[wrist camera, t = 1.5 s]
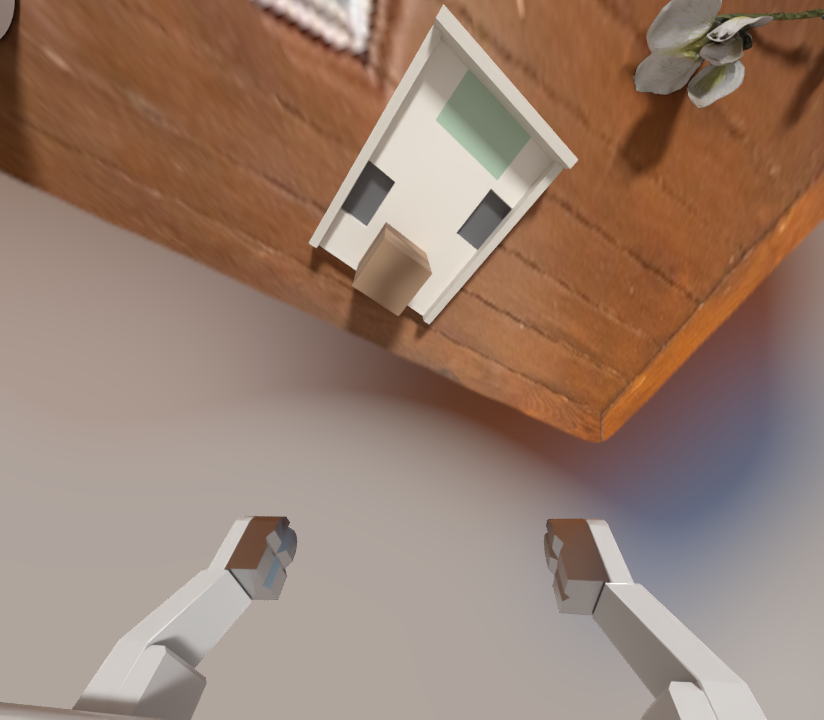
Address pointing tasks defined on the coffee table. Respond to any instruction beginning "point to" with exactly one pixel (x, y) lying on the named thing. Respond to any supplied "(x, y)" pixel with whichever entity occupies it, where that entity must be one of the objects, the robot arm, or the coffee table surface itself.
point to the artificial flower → (700, 49)
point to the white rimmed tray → (445, 165)
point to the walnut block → (392, 270)
